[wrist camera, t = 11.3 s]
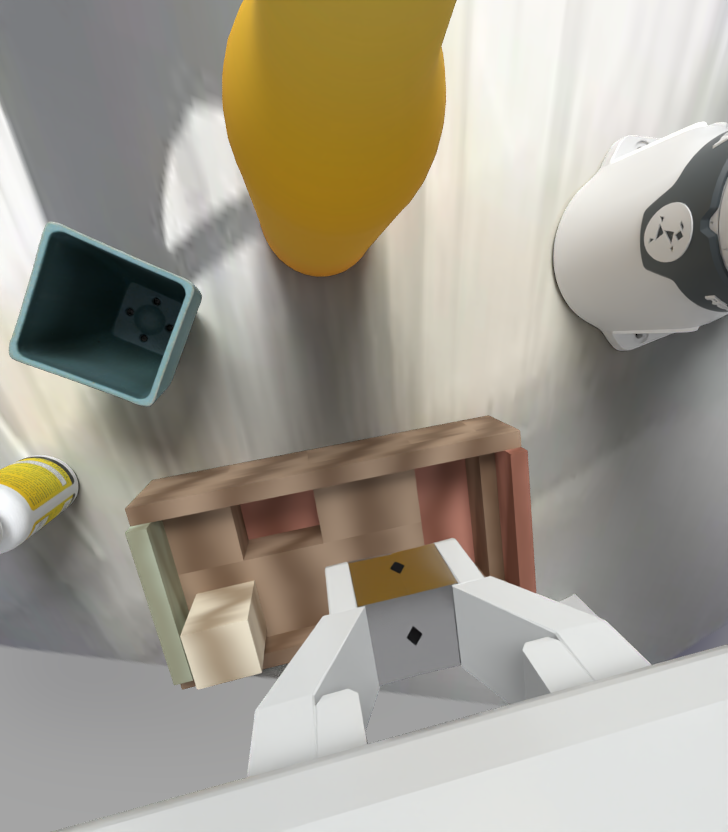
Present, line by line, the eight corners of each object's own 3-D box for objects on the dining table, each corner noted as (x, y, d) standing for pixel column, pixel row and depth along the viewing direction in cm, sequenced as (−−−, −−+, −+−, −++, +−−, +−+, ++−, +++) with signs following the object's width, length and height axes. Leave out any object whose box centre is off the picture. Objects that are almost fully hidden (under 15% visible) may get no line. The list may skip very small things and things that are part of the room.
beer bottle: (339, 299, 36) (479, 204, 8) (241, 240, 34) (-42, -170, 6) (391, 201, 35) (764, -305, 7) (293, 134, 33) (255, -997, 5)
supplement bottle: (9, 451, 35) (-100, 498, 25) (80, 456, 35) (0, 503, 26) (12, 510, 36) (-93, 577, 26) (80, 514, 37) (4, 579, 27)
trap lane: (488, 415, 40) (526, 433, 34) (501, 566, 44) (537, 609, 38) (152, 479, 37) (119, 514, 30) (198, 638, 41) (178, 699, 34)
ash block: (254, 580, 36) (247, 619, 31) (266, 627, 37) (261, 672, 32) (196, 593, 36) (180, 636, 31) (210, 641, 37) (197, 689, 32)
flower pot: (186, 389, 36) (150, 410, 27) (79, 349, 34) (3, 357, 25) (222, 294, 34) (196, 283, 26) (113, 246, 33) (46, 217, 24)
